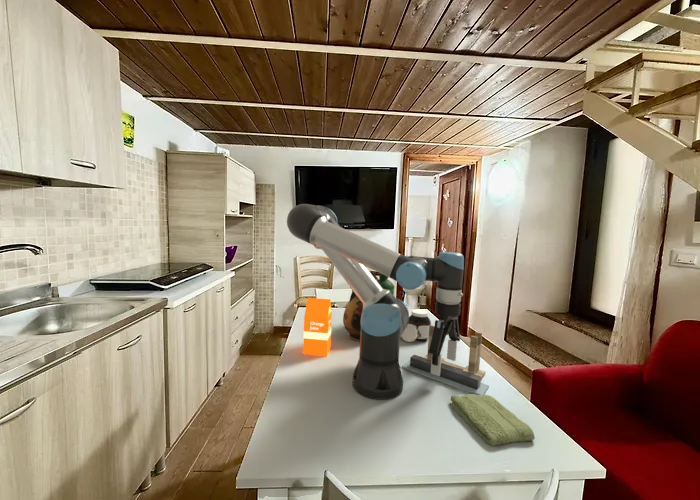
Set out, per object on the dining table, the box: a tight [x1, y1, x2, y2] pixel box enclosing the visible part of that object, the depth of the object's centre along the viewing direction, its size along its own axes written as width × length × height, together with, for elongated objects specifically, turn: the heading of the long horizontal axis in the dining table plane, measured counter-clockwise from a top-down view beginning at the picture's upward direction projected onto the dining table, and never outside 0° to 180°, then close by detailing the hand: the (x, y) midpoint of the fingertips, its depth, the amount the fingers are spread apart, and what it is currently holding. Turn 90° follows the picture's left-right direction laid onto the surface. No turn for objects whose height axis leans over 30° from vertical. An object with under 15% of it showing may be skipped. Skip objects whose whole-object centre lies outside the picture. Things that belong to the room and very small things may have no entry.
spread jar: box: [401, 308, 432, 343], centre depth 128 cm, size 12×11×12 cm
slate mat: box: [401, 360, 490, 395], centre depth 97 cm, size 7×26×1 cm, turn 52°
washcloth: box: [450, 393, 536, 446], centre depth 76 cm, size 13×18×3 cm
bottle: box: [376, 272, 395, 296], centre depth 145 cm, size 11×11×28 cm
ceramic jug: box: [342, 270, 379, 342], centre depth 127 cm, size 17×15×30 cm
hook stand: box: [422, 324, 487, 381], centre depth 103 cm, size 6×20×14 cm, turn 52°
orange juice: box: [302, 297, 333, 357], centre depth 112 cm, size 8×9×20 cm
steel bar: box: [409, 354, 482, 390], centre depth 97 cm, size 3×22×3 cm, turn 52°
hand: (443, 366), depth 97 cm, fingers open, 13 cm apart
